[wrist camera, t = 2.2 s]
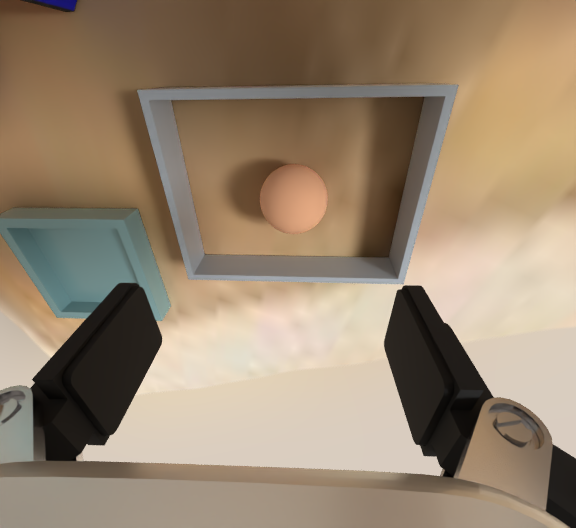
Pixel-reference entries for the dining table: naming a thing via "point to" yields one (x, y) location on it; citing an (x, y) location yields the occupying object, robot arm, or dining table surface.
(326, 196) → the ball
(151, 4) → the dining table surface
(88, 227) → the dish
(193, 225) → the grey hollow rectangular frame
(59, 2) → the puzzle cube
